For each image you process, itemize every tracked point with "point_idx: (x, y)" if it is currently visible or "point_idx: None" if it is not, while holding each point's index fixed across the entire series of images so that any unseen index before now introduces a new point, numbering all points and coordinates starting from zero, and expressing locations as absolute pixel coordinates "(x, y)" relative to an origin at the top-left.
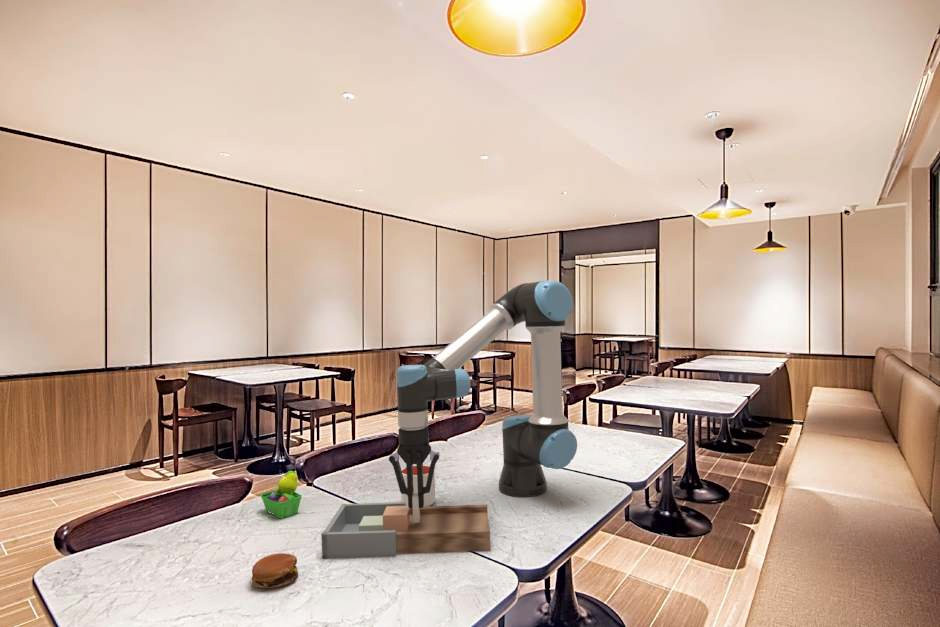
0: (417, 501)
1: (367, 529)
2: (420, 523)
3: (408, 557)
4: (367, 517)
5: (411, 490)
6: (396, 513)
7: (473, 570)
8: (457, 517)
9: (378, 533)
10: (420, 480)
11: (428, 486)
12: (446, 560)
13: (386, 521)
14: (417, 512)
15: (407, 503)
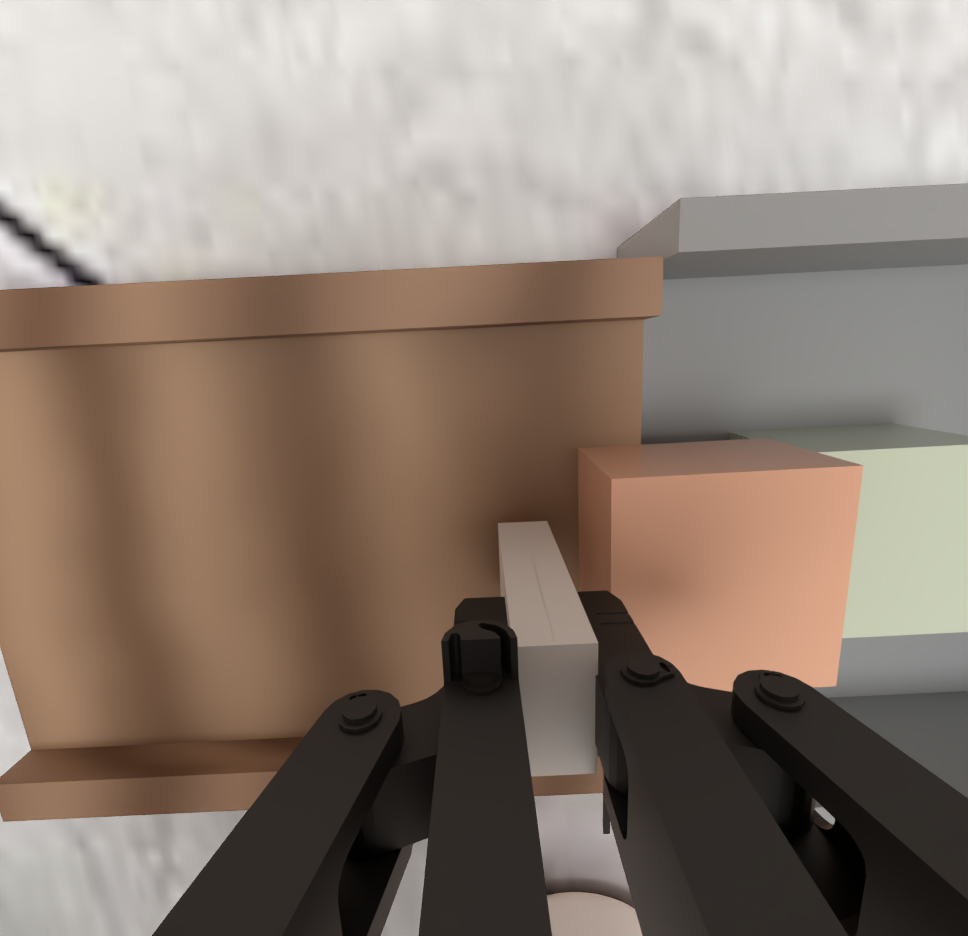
0: (518, 608)
1: (905, 439)
2: (497, 577)
3: (530, 225)
4: (940, 606)
5: (633, 710)
6: (723, 513)
7: (47, 9)
8: (236, 672)
9: (840, 193)
10: (468, 899)
11: (318, 774)
12: (264, 172)
13: (787, 456)
14: (514, 554)
15: (637, 928)
